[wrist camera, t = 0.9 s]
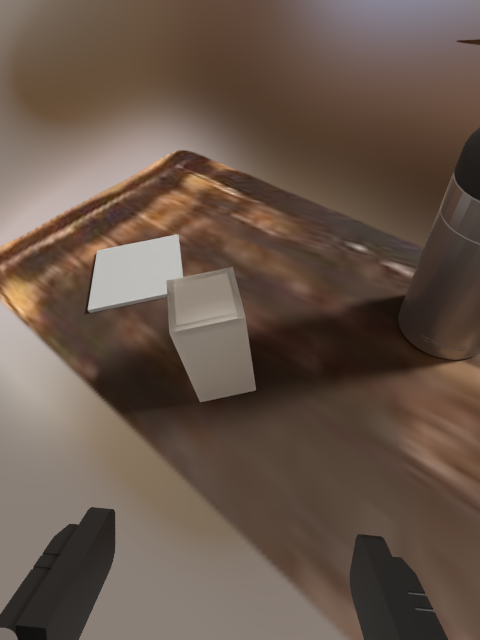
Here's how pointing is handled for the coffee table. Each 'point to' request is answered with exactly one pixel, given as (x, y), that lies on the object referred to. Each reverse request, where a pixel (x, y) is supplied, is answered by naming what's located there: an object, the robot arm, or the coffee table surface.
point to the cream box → (211, 333)
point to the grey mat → (134, 273)
